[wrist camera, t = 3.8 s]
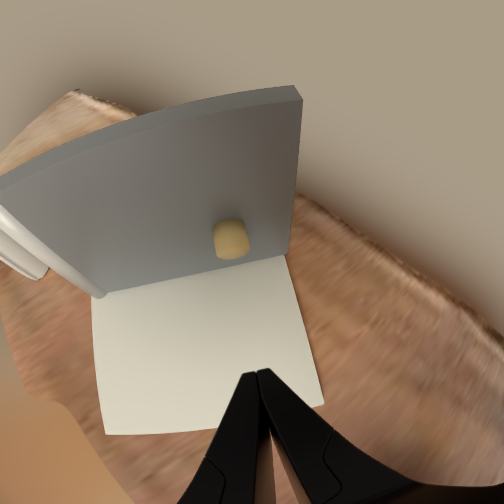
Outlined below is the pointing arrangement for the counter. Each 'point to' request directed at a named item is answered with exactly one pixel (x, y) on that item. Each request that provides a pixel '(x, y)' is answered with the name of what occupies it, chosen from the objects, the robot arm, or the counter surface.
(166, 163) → the door
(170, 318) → the board
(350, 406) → the counter surface
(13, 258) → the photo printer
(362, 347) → the counter surface
